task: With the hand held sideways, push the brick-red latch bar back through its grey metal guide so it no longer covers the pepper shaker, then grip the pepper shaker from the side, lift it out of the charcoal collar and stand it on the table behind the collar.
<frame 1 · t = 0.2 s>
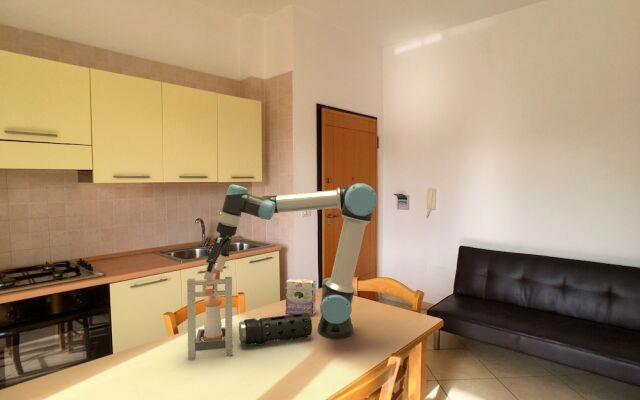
hand: (213, 275, 143), 27 cm above the table, tool tilted 15°, fingers open, 13 cm apart
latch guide: (210, 356, 134), on the table
latch bar: (211, 283, 138), point 26 cm above the table, slide at 0.2 cm
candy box: (300, 313, 177), on the table
pepper shaker: (213, 342, 145), resting in socket collar
socket collar: (213, 341, 145), on the table
muzzle brake: (275, 342, 146), on the table
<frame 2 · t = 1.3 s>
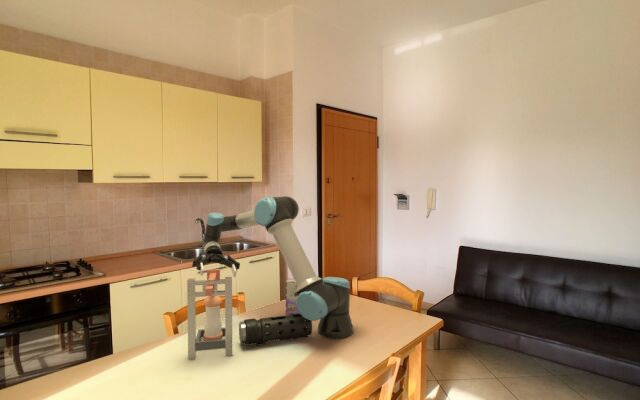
hand: (219, 273, 152), 26 cm above the table, tool horizontal, fingers open, 13 cm apart
nothing on the table moved.
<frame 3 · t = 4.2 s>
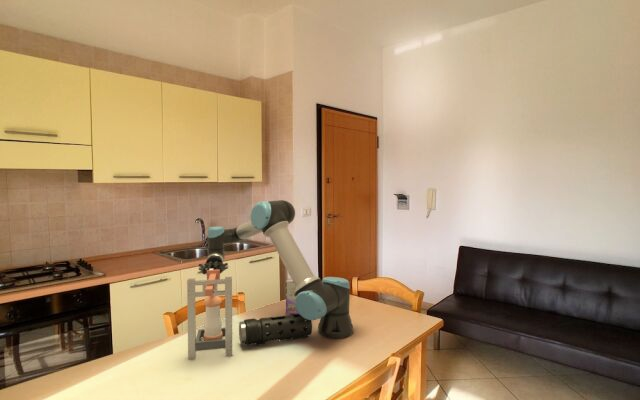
hand: (210, 275, 149), 26 cm above the table, tool horizontal, fingers closed
latch bar: (211, 283, 138), point 26 cm above the table, slide at 0.6 cm, touching gripper
everything else where it was.
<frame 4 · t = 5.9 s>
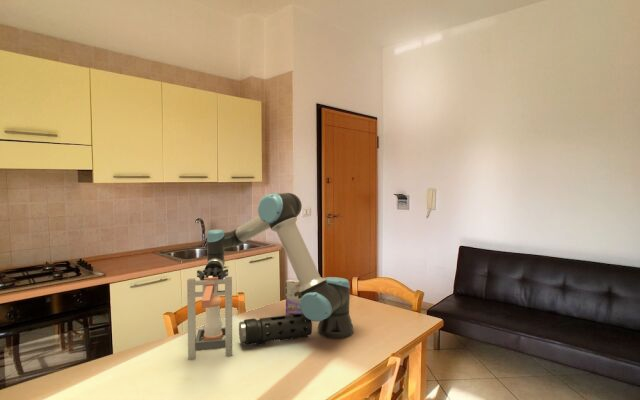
hand: (209, 283, 137), 25 cm above the table, tool horizontal, fingers closed
latch bar: (208, 293, 126), point 26 cm above the table, slide at 12.5 cm, touching gripper
everything else where it was.
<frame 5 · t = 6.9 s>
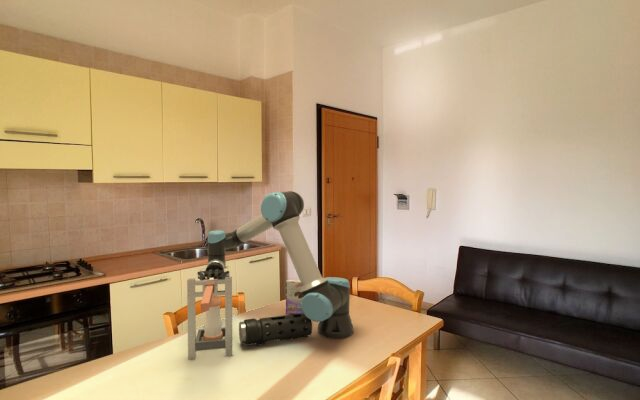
hand: (210, 286, 135), 25 cm above the table, tool horizontal, fingers closed
latch bar: (207, 295, 124), point 26 cm above the table, slide at 15.1 cm, touching gripper
everything else where it was.
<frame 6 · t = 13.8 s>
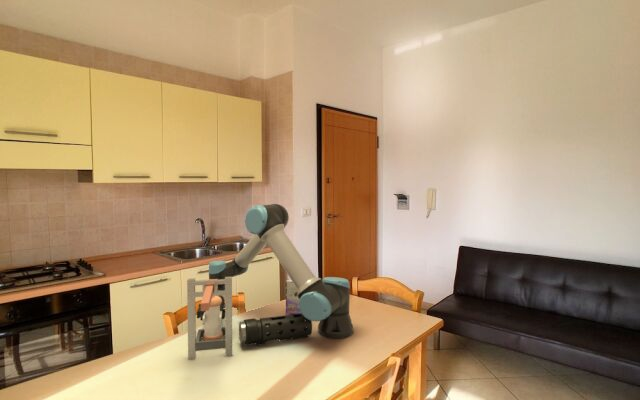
hand: (211, 321, 140), 11 cm above the table, tool horizontal, fingers closed on pepper shaker, 5 cm apart
latch bar: (207, 295, 124), point 26 cm above the table, slide at 15.0 cm
pepper shaker: (213, 342, 145), resting in socket collar, touching gripper
everything else where it was.
when the fingers open (12 cm above the table, at t = 17.7 s): pepper shaker drops 1 cm, on the table.
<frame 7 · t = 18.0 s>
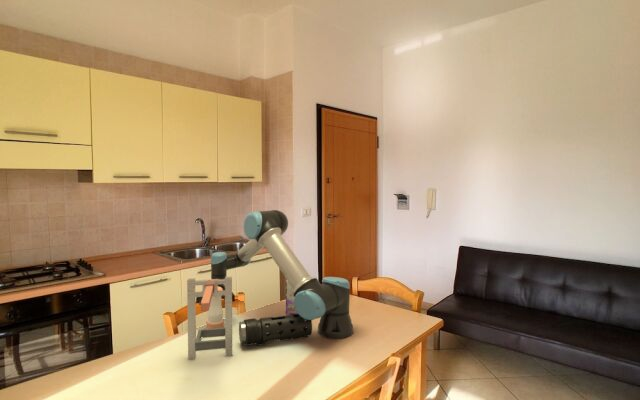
hand: (214, 305, 153), 12 cm above the table, tool horizontal, fingers open, 9 cm apart
pepper shaker: (215, 329, 158), on the table
everything else where it was.
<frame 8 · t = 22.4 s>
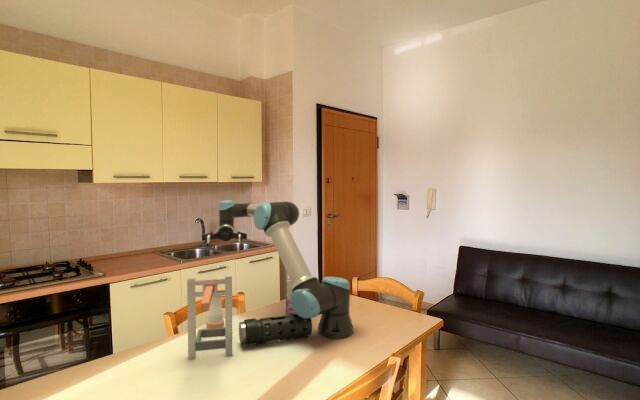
hand: (223, 239, 162), 38 cm above the table, tool horizontal, fingers open, 13 cm apart
nothing on the table moved.
at the end: latch bar slide at 15.0 cm; pepper shaker inside the target area (0.2 cm from its centre), on the table; pepper shaker tilted 0° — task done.
